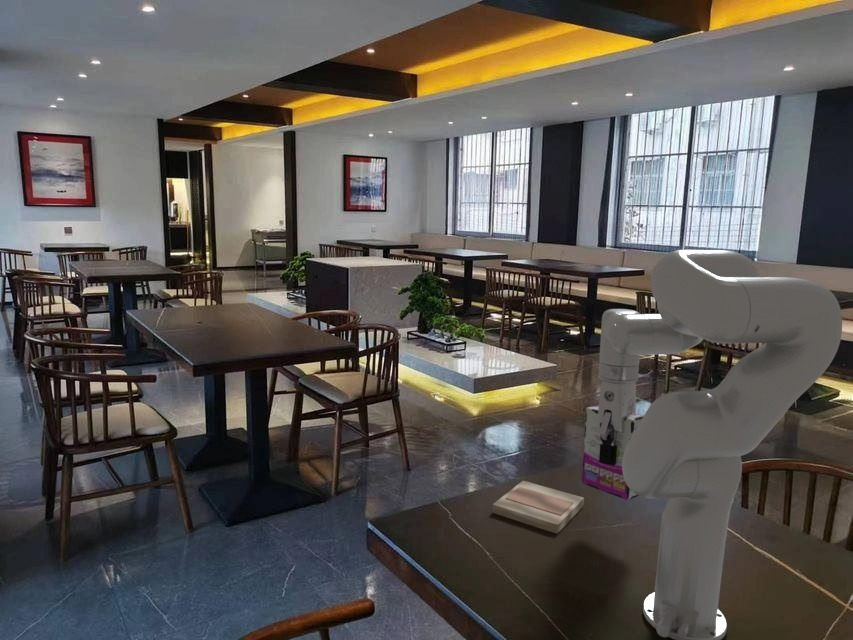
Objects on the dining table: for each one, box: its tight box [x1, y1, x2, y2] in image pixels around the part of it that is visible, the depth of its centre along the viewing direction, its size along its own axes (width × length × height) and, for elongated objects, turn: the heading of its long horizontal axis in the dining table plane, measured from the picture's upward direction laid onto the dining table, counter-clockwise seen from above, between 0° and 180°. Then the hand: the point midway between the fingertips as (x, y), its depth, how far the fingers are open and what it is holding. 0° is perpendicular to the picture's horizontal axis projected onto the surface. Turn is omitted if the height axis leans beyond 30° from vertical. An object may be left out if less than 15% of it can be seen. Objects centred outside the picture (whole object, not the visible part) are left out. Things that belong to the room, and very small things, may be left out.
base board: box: [492, 480, 585, 535], centre depth 139 cm, size 15×15×2 cm
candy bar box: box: [581, 404, 644, 501], centre depth 127 cm, size 11×5×16 cm, turn 40°
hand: (612, 457), depth 127 cm, fingers closed on candy bar box, 5 cm apart
